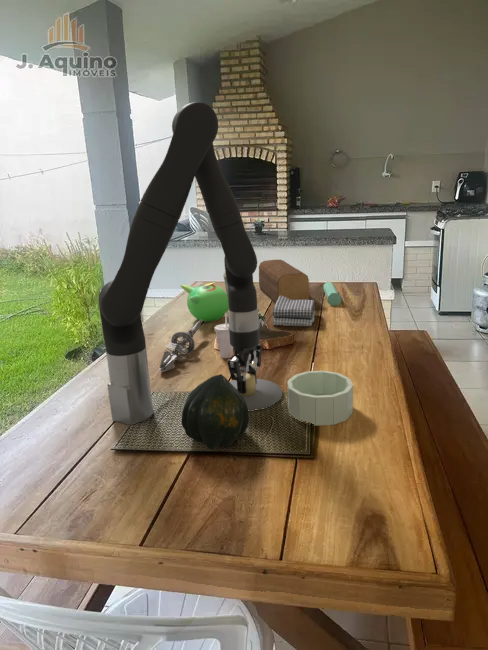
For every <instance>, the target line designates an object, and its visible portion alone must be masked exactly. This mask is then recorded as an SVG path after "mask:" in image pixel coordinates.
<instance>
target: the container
mask: <svg viewBox="0 0 488 650" xmlns="http://www.w3.org/2000/svg"><path fill="white" fill-rule="evenodd" d="M323 291H324V294H325V296H326V299H327V303H328V305H330V306H332V307H333V306H334V307H336V306H339V305H340V304H341V303H342V295H340V293H339V292H338V290H337V288H336V287H335V284H334V283H333V282H331V281H326V282H325V283H324V284H323Z"/></svg>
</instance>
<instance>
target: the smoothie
mask: <svg viewBox="0 0 488 650" xmlns="http://www.w3.org/2000/svg"><path fill="white" fill-rule="evenodd" d="M227 313H228V312H227ZM227 313H225V315H224V320H225V321H224V323H221V324H216V325H215V326H214V332H215V335H216V340H217V344H218V350H219V354H220V358H223V359H231V358H233V356H234V347H233V346H231V344H230V335H229V323H228V316H227Z"/></svg>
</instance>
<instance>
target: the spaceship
mask: <svg viewBox="0 0 488 650" xmlns="http://www.w3.org/2000/svg"><path fill="white" fill-rule="evenodd" d="M202 323H203V321H202V320H197V322H196V323H195V324H194V325H193V326H191V327H190V328H189V329H188V331H178V332H175V333H174V334H172V336H171V340H170V342H169V341H168V342H167V344H166V345H164V347H166V349H165V350H164V351H163V354H162V357H161V361H160V364H159V368H158V371H161V372H162V373H164V372H168V371H170V370H172V369H174V366H175V364H174V363H175V360H180V361H184V359H186V358H187V354H191V353H192V352H193V351H194V350H195V346H196V345H195V340H194V335H195V334H197V332H198V331H199V329H200V328H201V326H202ZM178 339H179V340H178ZM187 346H188V347H187ZM171 349H172V350H171Z"/></svg>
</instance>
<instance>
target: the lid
mask: <svg viewBox="0 0 488 650" xmlns="http://www.w3.org/2000/svg"><path fill="white" fill-rule="evenodd" d="M241 376H242V373H241ZM245 380H246V393H245V394H241V393H240V394H241V395H242V396H243V398H244V400H245V402H246V404H247V408H248V410H255V409H261V408H266V407H269V406H271V407H273V406H275V405H276V404H275V403H276V402H278V401H279V400H280V398H281V397H283V390H282V387H280V386H279V385H278V384H277V383H275V382H273V381H270V380H267V379H264V378H256V380H257V384H256V383H255V375H253V374H248V373H246V379H245ZM229 382H230V383H231V384H232V385H233V386H234V387H235V388H236V389H237V381H236V380H229ZM281 399H282V398H281ZM280 401H281V400H280ZM280 401H279V402H280ZM279 402H278V403H279ZM274 404H275V405H274ZM272 405H273V406H272ZM269 408H270V407H269ZM266 409H267V408H266Z"/></svg>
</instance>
